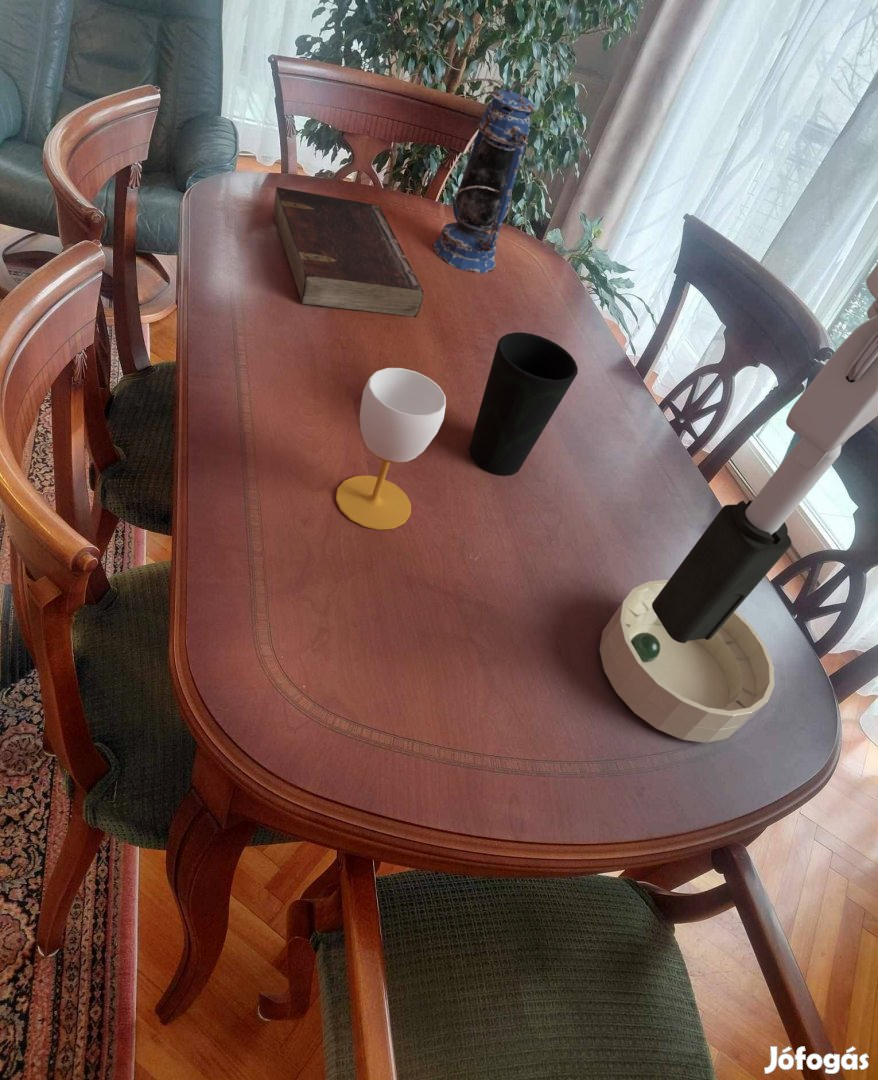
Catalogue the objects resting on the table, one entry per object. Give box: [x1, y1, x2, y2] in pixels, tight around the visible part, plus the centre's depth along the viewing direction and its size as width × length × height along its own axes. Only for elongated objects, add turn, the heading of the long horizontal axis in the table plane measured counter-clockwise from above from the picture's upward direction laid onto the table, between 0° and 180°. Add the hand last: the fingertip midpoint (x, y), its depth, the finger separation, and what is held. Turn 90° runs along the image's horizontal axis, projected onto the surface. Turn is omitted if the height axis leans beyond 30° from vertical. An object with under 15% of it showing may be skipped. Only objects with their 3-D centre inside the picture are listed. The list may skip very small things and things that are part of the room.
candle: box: [652, 437, 842, 643], centre depth 65 cm, size 5×5×25 cm
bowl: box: [599, 579, 775, 744], centre depth 83 cm, size 17×17×6 cm
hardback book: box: [272, 186, 424, 318], centre depth 129 cm, size 29×19×5 cm, turn 17°
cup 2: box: [468, 331, 579, 477], centre depth 99 cm, size 10×10×16 cm
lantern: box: [432, 80, 537, 274], centre depth 136 cm, size 15×12×30 cm
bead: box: [631, 632, 660, 662], centre depth 84 cm, size 3×3×3 cm
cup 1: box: [335, 367, 447, 531], centre depth 86 cm, size 9×9×16 cm
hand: (815, 453), depth 59 cm, fingers closed on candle, 3 cm apart
